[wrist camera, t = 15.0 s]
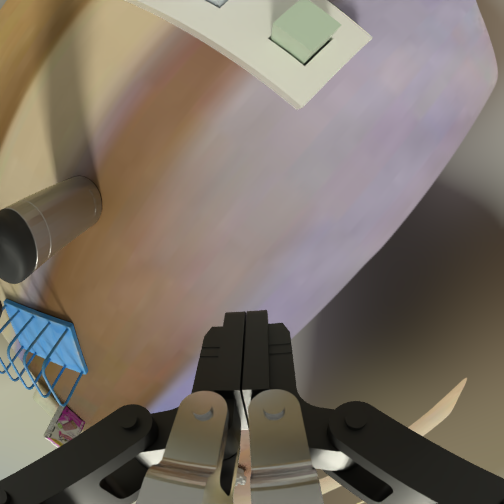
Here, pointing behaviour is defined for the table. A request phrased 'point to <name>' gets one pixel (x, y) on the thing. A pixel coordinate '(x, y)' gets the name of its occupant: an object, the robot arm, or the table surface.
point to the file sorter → (43, 344)
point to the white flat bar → (263, 41)
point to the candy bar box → (63, 426)
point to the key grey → (217, 2)
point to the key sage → (303, 30)
